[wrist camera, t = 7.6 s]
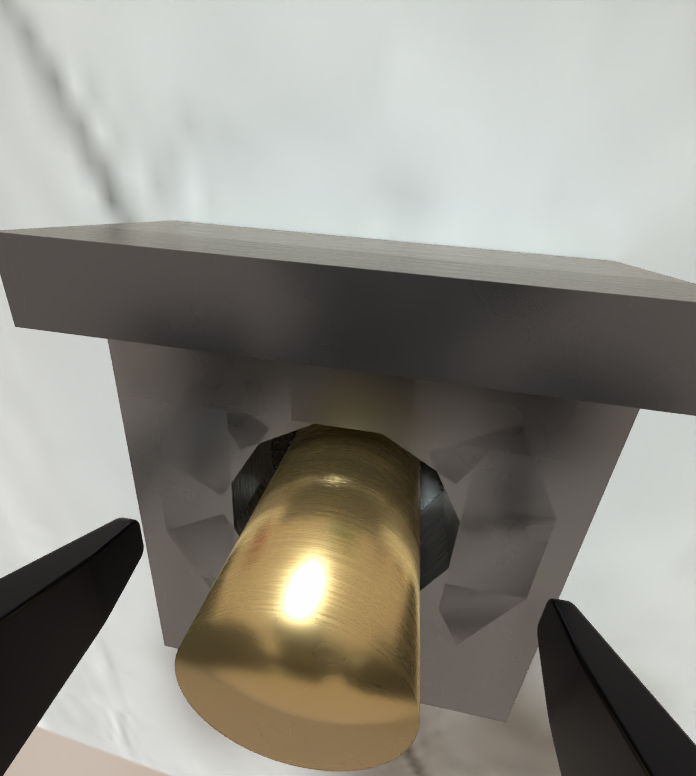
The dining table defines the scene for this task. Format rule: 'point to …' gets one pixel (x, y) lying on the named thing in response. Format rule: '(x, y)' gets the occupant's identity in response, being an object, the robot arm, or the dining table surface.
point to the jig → (371, 400)
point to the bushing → (318, 610)
